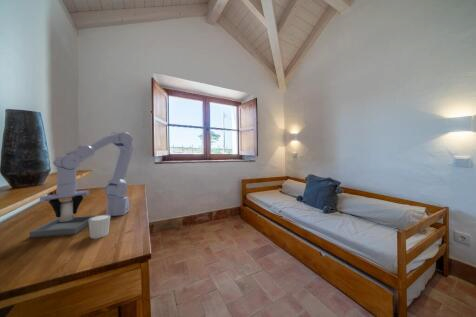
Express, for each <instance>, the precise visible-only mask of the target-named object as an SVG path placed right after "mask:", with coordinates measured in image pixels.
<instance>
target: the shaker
mask: <svg viewBox="0 0 476 317" xmlns="http://www.w3.org/2000/svg"><path fill="white" fill-rule="evenodd" d="M59 201H60V200H59ZM60 202H61V204H60V217H58V218H59V222H65V221H69V220H72V219H73V217H74V214H73V202H74V200H72V199H66V200H61V201H60Z"/></svg>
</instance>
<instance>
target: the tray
mask: <svg viewBox="0 0 476 317" xmlns="http://www.w3.org/2000/svg"><path fill="white" fill-rule="evenodd" d="M95 216H96V215H80V216H73V219H72V220H69V221H65V222H59V217H58V218H57V217H56V218H55V219H53V220H51V221H49V222H47V223H45V224H43V225H40V226H38V227H36V228H35V229H31V230H30V231H29V239H36V238H37V239H39V238H49V237H61V236H62V237H63V236H74V235H77V234H79V233H80V232H81V231H83V230H85V229H86V228H87V227H89V221H88V220H89V219H90V218H92V217H95Z"/></svg>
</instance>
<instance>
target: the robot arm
mask: <svg viewBox="0 0 476 317" xmlns="http://www.w3.org/2000/svg"><path fill="white" fill-rule="evenodd" d="M111 144H113V145H115V147H117V148H118V150H119V155H118V157H117V158H118V159H117V162H116V164H115V165H116V166H115V169H114V172H113V174H112V178H111V179H110V180H109V181H108V182H107V185H106V186H105V187H104V190H103V192H104V194H105V195H106V198H107V199H106V201H107V202H106V213H104V214H103V215H110V217H112V216H115V217H116V216H124V215H126V214H127V213H128V212H129V211H130V197H129V196H125V195H126V194H127V193H128V183H127V181H126V177H127V176H126V175H127V172H128V168H129V165H130V161H131V157H132V155H133V154H132V153H133V150H134V149H133V136H131V134H130V133H129V132H127V131H123V132H122V131H121V132H115V131H113V132H111V133H109V134H106V135H105V136H103V137H101V138H100V139H98V140H96V141H95V142H93V143H91V144H89V145H88V144H82V145H81V144H80V145H77V148H75V149H73V150H71V151H67V152H66V154H62V155H61V154H60V155H58V156H57V157H56V158H55V159H54V161H53V165H54V167H56V193H54V194H49V195H48V194H47V195H42V196H39V202H40V203H45V202H48V203H49V204H50V206H51V207H52V208H53V211H54V214H55V217H56V219H57V218H59V217H60V204H61V202H60V200H64V199H71V200H74V202H73V215H76V214H77V212H78V208H79V206H80V204H81V203H82V201H83V200H84V196H89V195H90V190H80V191H79V190H78V191H77V168H79V166H80V164H81V163H82V162H84V161H86V160H87V159H89V158H91V157H93V156H94V155H95V152H96V151H99V150H100V149H102V148H104V147H106V146H108V145H111Z"/></svg>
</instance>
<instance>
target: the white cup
mask: <svg viewBox="0 0 476 317" xmlns="http://www.w3.org/2000/svg"><path fill="white" fill-rule="evenodd" d="M94 216H95V217H92V218H90V219H89V220H88V221H89V225H88V228H89V237H90V239H99V238H103V237H105V236H108V235H109V230H110V223H111V216H110V215H104V214H100V215H94Z"/></svg>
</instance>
